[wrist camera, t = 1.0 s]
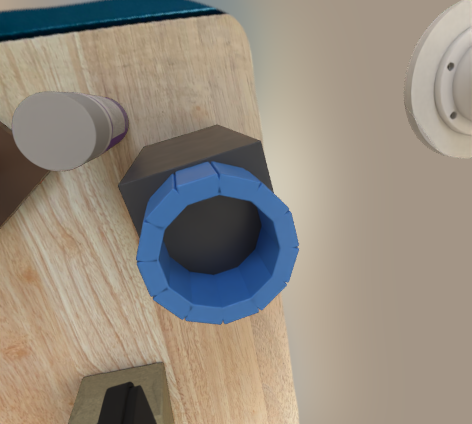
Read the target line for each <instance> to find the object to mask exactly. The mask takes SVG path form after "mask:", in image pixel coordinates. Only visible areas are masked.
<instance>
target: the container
mask: <svg viewBox="0 0 472 424" xmlns="http://www.w3.org/2000/svg"><path fill="white" fill-rule="evenodd" d="M128 126H129V122H128V117H127V114H126V112H125V110H124V109H123V107H122V106H121V105H120V104H119V103H117V102H116V101H114V100H112V99H110V98H107V97H101V96H95V95H88V94H82V93H74V92H50V91H47V92H39V93H36V94H33V95H31V96H29V97H27V98H26V99H24V100H23V101H22V102H21V103H20V104H19V106H18V107H17V109H16V110H15V112H14V115H13V119H12V133H13V137H14V140H15V143H16V145H17V147H18V148H19V150H20V151H21V152H22V154H23V155H24V156H25V157H26V158H27V159H28V160H30V161H31V162H32V163H34V164H35V165H37V166H39V167H42V168H44V169H47V170H51V171H68V170H72V169H75V168H77V167H79V166H81V165H83V164H85V163H87V162H88V161H90V160H92V159H94V158H96V157H98V156H100V155H101V154H103V153H104V152H105V151H107V150H108V149H110V148H111V147H113V146H114V145H116V144H117V143H119V142H120V141H121V140H122V139H123V138H124V137H125V135H126V133H127V131H128Z"/></svg>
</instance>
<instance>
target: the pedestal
mask: <svg viewBox="0 0 472 424" xmlns="http://www.w3.org/2000/svg"><path fill="white" fill-rule="evenodd" d="M212 161H214V162H218V163H222V164H227V165H231V166H236V167H240V168H244V169H245V170H246V171H249V172H250V173H251V174H252V175H254V176H255V177H256V178H257V179H259V180H260V181H261V182H262V183H263V184H265V185H266V186H267V187H268V188H269V189H270V190H271V191H272V192H273V188H272V184H271V180H270V176H269V172H268V168H267V164H266V160H265V156H264V152H263V148H262V144H261V141H259V140H257V139H254V138H251V137H249V136H246V135H243V134H241V133H238V132H236V131H233V130H230V129H228V128H225V127H222V126H220V125H215V126H211V127H208V128H205V129H201V130H198V131H195V132H192V133H188V134H185V135H182V136H178V137H175V138H172V139H169V140H165V141H162V142H159V143H155V144H152V145H149V146H145V147H143V149H142V150H141V152H140V153H139V155H138V156H137V158H136V159H135V161H134V162H133V164H132V165H131V167H130V168H129V170H128V171H127V173H126V174H125V176H124V177H123V179H122V180H121V182H120V183H119V185H118V187H119V190H120V192H121V194H122V197H123V199H124V202H125V204H126V206H127V209H128V211H129V214H130V216H131V219H132V221H133V223H134V226H135V228H136V231H137V233H138V236H139V238H140V235H141V230H142V224H143V220H144V216H145V212H146V207H147V203H148V202H149V199H150V197H151V196H152V195H153V194H154V193H155V192H156V191H157V190H158V189H159V187H160V186H161V185H162V184H163V183H164V182H165V181H166V180H167V179H168V178H169V177H170V175H171V174H174V175H175V172H176V171H179V170H182V169H185V168H188V167H192V166H195V165H198V164H201V163H204V162H209V163H210V164H211V162H212ZM273 193H274V192H273ZM261 226H262V225H261V221H260V217H259V214H258V210H257V207H256V206H255V205H254V204H253V203H252V202H251V201H246V200H241V199H236V198H231V197H226V196H221V195H218V196H215V197H212V198H209V199H206V200H202V201H199V202H196V203H193V204H190V205H187V206H186V207H185V209H184V210H183V211H182V212H181V213H180V214H179V215H178V216H177V217H176V218H175V219H174V220H173V221H172V223H171V224H170V225H169V226H168V227H167V228H166V229H165V232H164V236H163V241H164V243H165V246H166V248H167V251H168V254H169V256H170V257H171V258H172V259H174V260H175V261H176V262H178V263H179V264H180V265H182V266H183V267H184V268H185V269H187V270H188V271H189V272H196V273H203V274H210V275H215V274H218V273H221V272H224V271H227V270H230V269H233V268H236V267H238V266H239V265H240V264H241V263H242V262H243V261H244V260H245V259H246V258H247V257H248V256H249V255H250V254H251V253H252V252H253V251H254V250H255V248H256V244H257V241H258V237H259V234H260V230H261Z"/></svg>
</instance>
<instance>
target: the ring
mask: <svg viewBox="0 0 472 424" xmlns="http://www.w3.org/2000/svg"><path fill="white" fill-rule="evenodd" d="M218 195H221V196H226V197H231V198H236V199H241V200H246V201H251V202H252V203H253V204H254V205H255V206H256V207H257V210H258V214H259V217H260V221H261V225H262V226H261V230H260V234H259V237H258V241H257V244H256V248H255V250H254V251H253V252H252V253H251V254H250V255H249V256H248V257H247V258H246V259H245V260H244V261H243V262H242V263H241V264H240V265H239V266H238V267H236V268H233V269H230V270H227V271H224V272H221V273H218V274H215V275H210V274H203V273H196V272H189V271H188V270H187V269H185V268H184V267H183V266H182V265H180V264H179V263H178V262H176V261H175V260H174V259H172V258H171V257H170V256H169V254H168V251H167V248H166V246H165V243H164V241H163V236H164V232H165V229H166V228H167V227H168V226H169V225H170V224H171V223H172V221H173V220H174V219H175V218H176V217H177V216H178V215H179V214H180V213H181V212H182V211H183V210H184V209H185V207H186V206H187V205H190V204H193V203H196V202H199V201H202V200H206V199H209V198H212V197H215V196H218ZM298 246H299V243H298V239H297V234H296V230H295V226H294V222H293V218H292V213H291V212H290V211H289V208H288V207H287V206H286V205H285V204H284V203H283V202H282V201H281V200H280V199H279V198H278V197H277V196H276V195H275V194H274V193H273V192H272V191H271V190H270V189H269V188H268V187H267V186H266V185H265V184H263V183H262V182H261V181H260V180H259V179H257V178H256V177H255V176H254V175H252V174H251V173H250V172H249V171H246V170H245V169H244V168H240V167H236V166H231V165H227V164H222V163H218V162H214V161H212V162H211V164H210V163H209V162H204V163H201V164H198V165H195V166H192V167H188V168H185V169H182V170H179V171H176V172H175V175H174V174H171V175H170V177H169V178H168V179H167V180H166V181H165V182H164V183H163V184H162V185H161V186H160V187H159V189H158V190H157V191H156V192H155V193H154V194H153V195H152V196H151V197H150V199H149V202H148V203H147V207H146V212H145V216H144V220H143V224H142V230H141V235H140V241H139V246H138V251H137V257H136V260H137V266H138V268H139V271H140V273H141V275H142V278H143V280H144V282H145V285H146V287H147V290H148V292H149V294H150V296H151V297H153V300H154V301H156V302H157V303H159V304H160V305H161V306H163V307H164V308H166V309H167V310H169V311H170V312H172V313H173V314H174V315H176V316H177V317H179V318H180V319H182V320H183V319H184V318H185V320H186V321H191V322H201V323H210V324H220V325H221V324H222V321H223V322H224V324H227V323H230V322H233V321H236V320H239V319H241V318H244V317H247V316H250V315H252V314H255V313H258V312H259V309H260V310H263V309H264V308H265V307H266V306H267V305H268V304H269V303H270V302H271V301H272V300H273V299H274V298H275V297H276V296H277V295H278V294H279V293H280V292H281V291H282V290H283V289H284V288H285V287H286V286H287V284H286V283H285V282H289V280H290V277H291V273H292V270H293V267H294V263H295V261H296V257H297V254H298V251H299V249H298ZM258 308H259V309H258Z"/></svg>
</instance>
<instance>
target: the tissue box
mask: <svg viewBox="0 0 472 424" xmlns="http://www.w3.org/2000/svg"><path fill="white" fill-rule="evenodd" d="M126 382H132V383H133V384H134V386H138V385H141V386H142V388H143V391H144V393H145V396H146V398H147V400H148V403H149V405H150V408H151V410H152V413H153V415H154V418H155V420H156V422H157V424H174V419H173V414H172V408H171V402H170V396H169V390H168V385H167V379H166V373H165V367H164V363H157V364H152V365H147V366H141V367H136V368H131V369H126V370H120V371H115V372H110V373H105V374H99V375H94V376H89V377H84V378H83V379H82V382H81V385H80V388H79V391H78V394H77V397H76V400H75V403H74V407H73V410H72V413H71V416H70V419H69V422H68V424H97V423H98V419H99V415H100V411H101V407H102V403H103V399H104V396H105V392H106V390H107V389H108V388H110V387H113V386H116V385H120V384H123V383H126Z"/></svg>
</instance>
